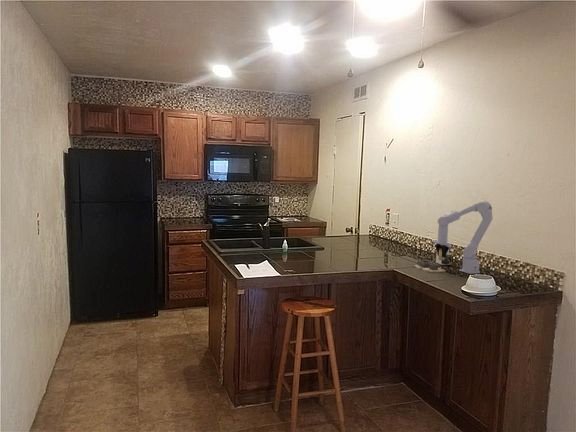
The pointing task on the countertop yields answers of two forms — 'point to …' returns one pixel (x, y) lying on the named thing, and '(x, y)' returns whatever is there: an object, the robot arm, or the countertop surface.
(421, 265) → the manifold board
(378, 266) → the countertop surface
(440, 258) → the brass fitting
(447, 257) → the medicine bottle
